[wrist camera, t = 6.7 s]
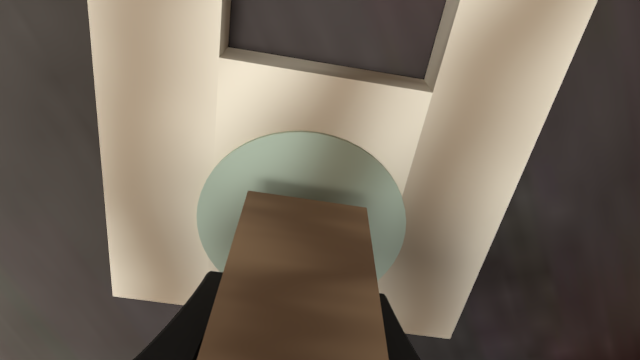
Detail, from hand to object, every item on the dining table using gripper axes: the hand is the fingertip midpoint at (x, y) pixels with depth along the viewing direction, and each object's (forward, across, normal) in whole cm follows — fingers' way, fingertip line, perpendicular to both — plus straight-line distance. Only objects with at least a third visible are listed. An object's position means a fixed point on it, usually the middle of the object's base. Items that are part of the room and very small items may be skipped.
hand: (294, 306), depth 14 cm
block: (+3, 0, 0) cm, 3 cm away
